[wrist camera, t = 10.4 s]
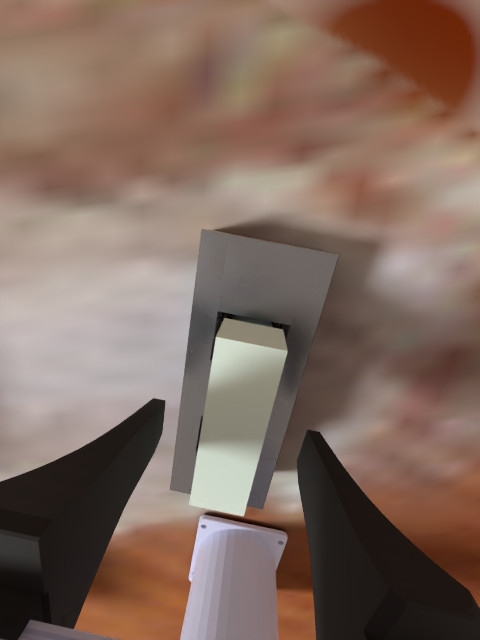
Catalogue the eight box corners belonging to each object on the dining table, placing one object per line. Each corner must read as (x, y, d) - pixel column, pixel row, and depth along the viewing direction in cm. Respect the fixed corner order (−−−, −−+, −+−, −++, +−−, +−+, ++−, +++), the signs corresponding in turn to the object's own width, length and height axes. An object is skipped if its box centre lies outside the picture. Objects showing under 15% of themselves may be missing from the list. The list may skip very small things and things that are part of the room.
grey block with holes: (262, 472, 21) (262, 509, 18) (182, 455, 21) (169, 489, 18) (324, 251, 15) (338, 255, 12) (212, 229, 15) (201, 229, 13)
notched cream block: (249, 429, 20) (243, 516, 14) (211, 421, 20) (189, 505, 14) (278, 307, 17) (287, 351, 10) (232, 298, 17) (215, 336, 11)
